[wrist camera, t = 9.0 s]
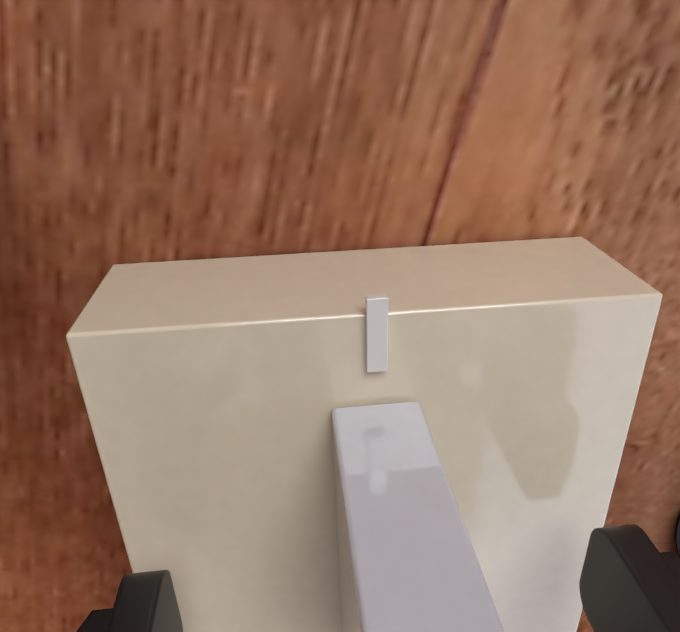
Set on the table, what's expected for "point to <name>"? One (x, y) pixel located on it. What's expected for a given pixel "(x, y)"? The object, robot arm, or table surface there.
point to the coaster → (678, 536)
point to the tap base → (356, 390)
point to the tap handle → (401, 529)
